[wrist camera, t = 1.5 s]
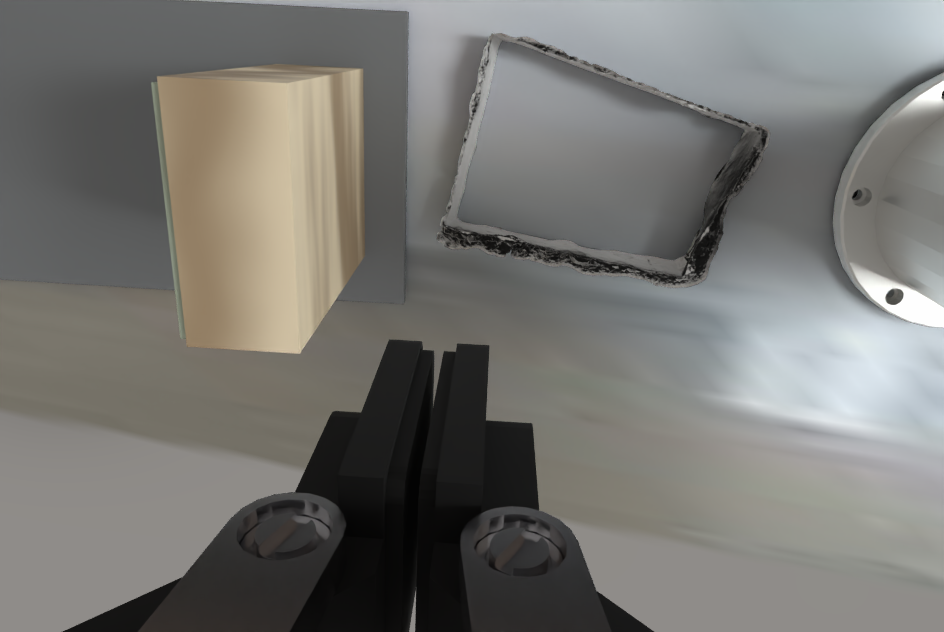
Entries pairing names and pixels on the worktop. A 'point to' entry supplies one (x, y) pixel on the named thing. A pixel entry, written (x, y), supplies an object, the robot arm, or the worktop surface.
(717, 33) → the worktop surface
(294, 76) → the maple plaque
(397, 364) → the robot arm
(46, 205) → the rubber mat
